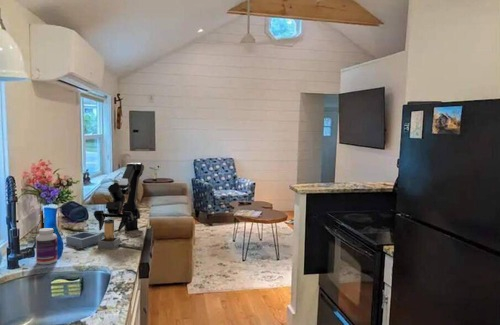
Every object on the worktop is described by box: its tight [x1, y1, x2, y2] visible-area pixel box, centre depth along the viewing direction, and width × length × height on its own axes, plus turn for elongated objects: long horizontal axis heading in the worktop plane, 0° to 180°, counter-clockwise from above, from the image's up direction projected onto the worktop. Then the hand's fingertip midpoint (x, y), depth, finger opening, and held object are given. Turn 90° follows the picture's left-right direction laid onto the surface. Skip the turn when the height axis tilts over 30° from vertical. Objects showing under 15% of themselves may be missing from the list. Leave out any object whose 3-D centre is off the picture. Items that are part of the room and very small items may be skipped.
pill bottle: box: [35, 228, 58, 266], centre depth 161 cm, size 8×8×14 cm
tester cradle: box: [97, 236, 121, 250], centre depth 185 cm, size 8×8×4 cm
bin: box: [65, 230, 101, 249], centre depth 189 cm, size 11×11×4 cm
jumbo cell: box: [103, 218, 115, 241], centre depth 185 cm, size 4×4×13 cm
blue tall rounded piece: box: [35, 197, 63, 236], centre depth 204 cm, size 15×10×20 cm
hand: (109, 230), depth 185 cm, fingers open, 9 cm apart
